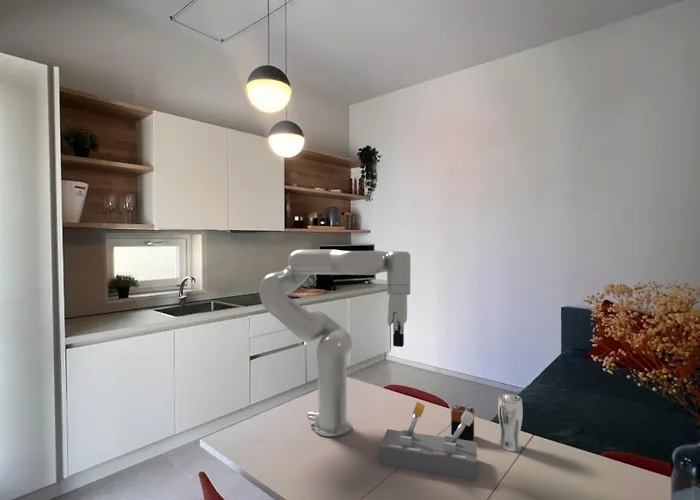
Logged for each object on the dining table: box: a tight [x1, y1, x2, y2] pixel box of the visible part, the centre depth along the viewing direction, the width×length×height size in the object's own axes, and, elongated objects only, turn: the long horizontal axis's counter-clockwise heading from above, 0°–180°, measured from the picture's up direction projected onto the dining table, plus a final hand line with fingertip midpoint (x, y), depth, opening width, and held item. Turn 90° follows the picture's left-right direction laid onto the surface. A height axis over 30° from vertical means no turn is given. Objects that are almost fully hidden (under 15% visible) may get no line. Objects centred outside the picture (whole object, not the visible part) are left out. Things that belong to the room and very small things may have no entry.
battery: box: [450, 404, 475, 441], centre depth 125 cm, size 4×7×10 cm, turn 69°
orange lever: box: [406, 401, 426, 437], centre depth 112 cm, size 2×3×11 cm
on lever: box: [449, 410, 475, 443], centre depth 108 cm, size 2×3×11 cm
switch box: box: [378, 428, 478, 482], centre depth 111 cm, size 26×11×7 cm, turn 73°
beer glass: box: [497, 393, 524, 453], centre depth 119 cm, size 7×7×15 cm
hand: (398, 345), depth 126 cm, fingers closed
